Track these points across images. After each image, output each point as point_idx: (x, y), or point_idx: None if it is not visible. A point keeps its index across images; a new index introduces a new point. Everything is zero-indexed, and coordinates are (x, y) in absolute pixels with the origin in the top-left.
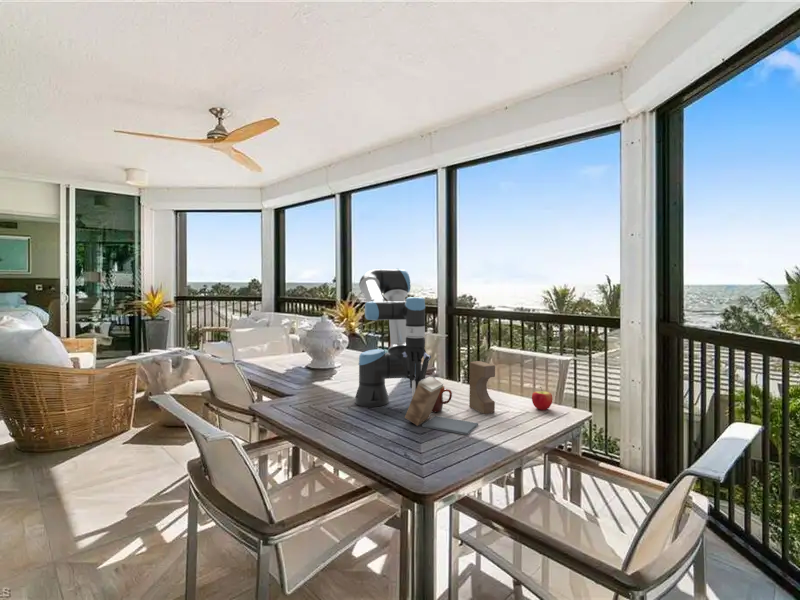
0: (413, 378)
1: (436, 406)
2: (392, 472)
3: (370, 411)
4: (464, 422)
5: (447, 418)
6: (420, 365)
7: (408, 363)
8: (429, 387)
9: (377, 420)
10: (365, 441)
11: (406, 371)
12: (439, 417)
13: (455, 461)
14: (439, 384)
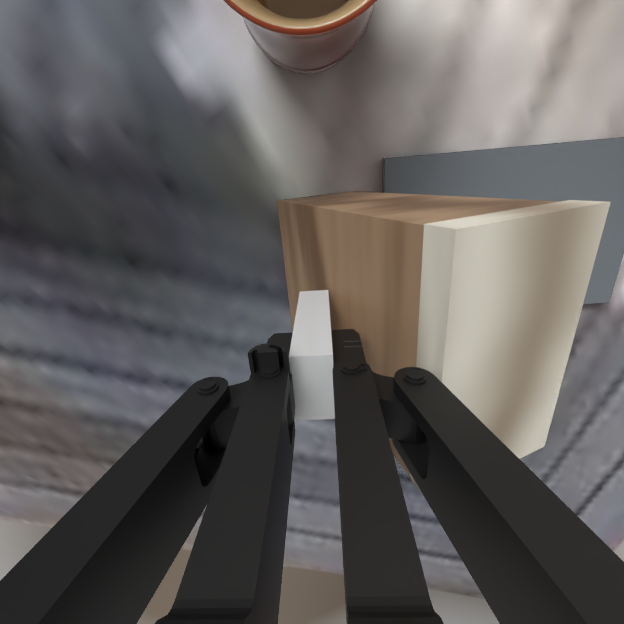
0: (293, 407)
1: (353, 43)
2: (454, 578)
3: (45, 265)
4: (577, 171)
5: (467, 162)
6: (412, 553)
7: (91, 566)
8: (521, 455)
9: (175, 348)
10: (289, 501)
11: (195, 505)
12: (419, 173)
13: (588, 489)
14: (578, 285)
